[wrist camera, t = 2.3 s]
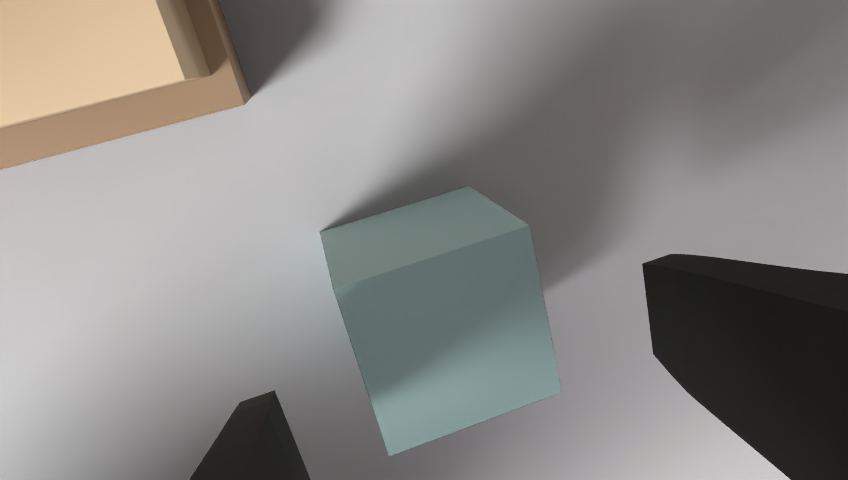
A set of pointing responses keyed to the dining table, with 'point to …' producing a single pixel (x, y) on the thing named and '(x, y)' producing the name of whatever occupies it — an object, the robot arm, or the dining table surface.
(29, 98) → the tower top
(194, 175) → the dining table surface
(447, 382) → the teal cube
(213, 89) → the tower base
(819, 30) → the dining table surface
